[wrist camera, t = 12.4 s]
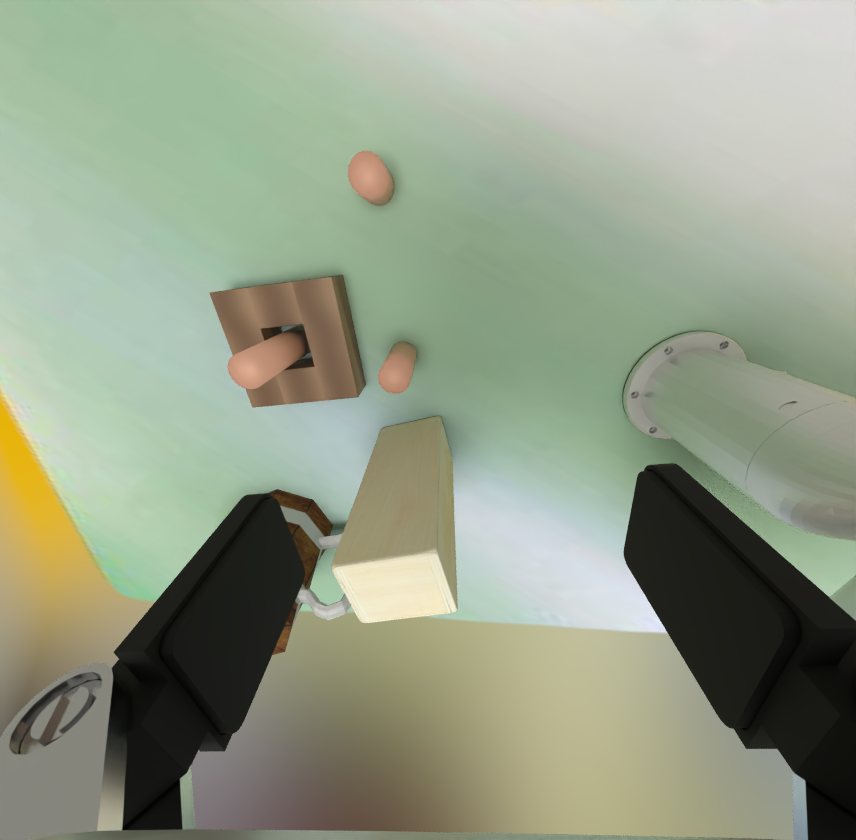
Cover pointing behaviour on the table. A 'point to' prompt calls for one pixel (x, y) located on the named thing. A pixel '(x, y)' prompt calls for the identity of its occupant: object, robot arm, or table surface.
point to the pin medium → (398, 368)
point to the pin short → (371, 178)
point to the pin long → (268, 358)
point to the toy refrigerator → (402, 528)
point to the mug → (308, 555)
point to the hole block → (325, 329)
